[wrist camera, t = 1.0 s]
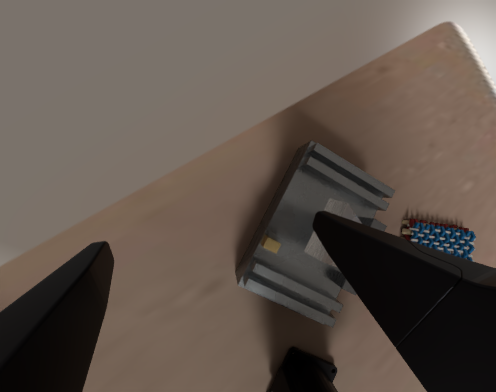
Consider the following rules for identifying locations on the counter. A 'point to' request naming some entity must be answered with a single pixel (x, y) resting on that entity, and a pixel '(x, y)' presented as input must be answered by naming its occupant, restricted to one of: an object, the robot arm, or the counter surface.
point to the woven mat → (441, 237)
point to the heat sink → (307, 233)
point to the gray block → (314, 243)
